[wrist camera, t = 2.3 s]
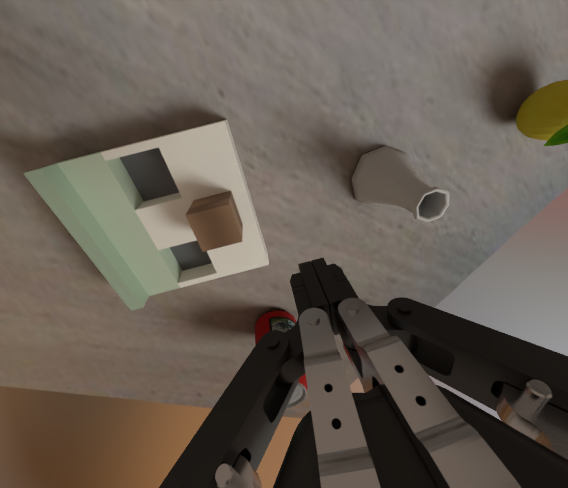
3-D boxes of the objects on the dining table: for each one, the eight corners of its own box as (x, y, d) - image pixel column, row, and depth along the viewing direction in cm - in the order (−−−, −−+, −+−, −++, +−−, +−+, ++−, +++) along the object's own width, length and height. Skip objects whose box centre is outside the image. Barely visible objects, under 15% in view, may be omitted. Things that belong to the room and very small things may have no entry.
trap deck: (227, 119, 24) (222, 122, 20) (267, 252, 33) (270, 274, 28) (62, 161, 24) (22, 173, 20) (146, 283, 32) (131, 310, 28)
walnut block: (231, 190, 25) (228, 204, 21) (242, 224, 27) (242, 241, 23) (193, 200, 25) (185, 215, 21) (208, 233, 27) (202, 252, 23)
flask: (353, 146, 27) (403, 165, 19) (413, 143, 28) (486, 160, 19) (347, 206, 31) (385, 245, 22) (399, 202, 32) (456, 238, 23)
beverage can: (303, 321, 41) (322, 394, 30) (272, 341, 42) (281, 417, 32) (278, 300, 37) (290, 374, 27) (246, 322, 39) (246, 400, 29)
